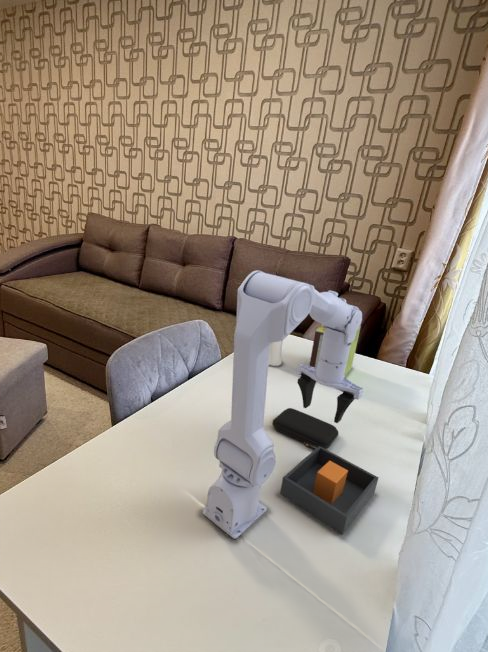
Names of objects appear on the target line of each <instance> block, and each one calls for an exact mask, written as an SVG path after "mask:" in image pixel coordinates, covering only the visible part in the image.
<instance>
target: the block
mask: <svg viewBox="0 0 488 652" xmlns="http://www.w3.org/2000/svg"><path fill="white" fill-rule="evenodd" d="M347 473H348V470H346V469H344V468H342V467H341V466H339V465H337V464H335V463H333V462H332V461H329V462H328V463H326V464H325V465H324V466H323V467H322V468H321V469H320V470H319V471H318V472H317V477H316V481H315V486H314V490H313V494H314V495H316V496H317V497H319V498H321V499H322V500H324V501H325V502H327V503H329V504H330V505H332V504H333V503H334V501H335V500H336V499H337V498H338V497H339V496H340V495H341V493H342V492H343V489H344V485H345V481H346V477H347Z"/></svg>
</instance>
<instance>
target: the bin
mask: <svg viewBox="0 0 488 652" xmlns="http://www.w3.org/2000/svg"><path fill="white" fill-rule="evenodd" d="M329 461H332V462H333V463H335V464H337V465H339V466H341V467H342V468H344V469H346V470H348V473H347V477H346V481H345V485H344V489H343V492H342V493H341V495H340V496H339V497H338V498H337V499H336V500H335V501H334V503H333V504H332V505H330V504H329V503H327V502H325V501H324V500H322V499H321V498H319V497H317V496H316V495H314V494H313V490H314V486H315V481H316V477H317V472H318V471H319V470H320V469H321V468H322V467H323V466H324V465H325V464H326V463H328V462H329ZM378 481H379V476H377V475H375V474H373V473H371V472H370V471H367V470H365V469H364V468H362V467H361V466H358V465H356V464H355V463H353V462H351V461H349V460H347V459H345V458H344V457H341V456H339V455H337V454H336V453H334V452H332V451H330V450H328V449H324V448H322V447H321V446H318V447H317V448H316V449H315V448H314V450H313V451H311V453H309V454H308V455H307V456H306V457H304V458H303V459H302V460H301V461H300V462H298V463H297V465H295V466H294V467H293V468H291V470H290V471H289V472H287V473H286V474H285V475H284V476H283V477H282V480H281V486H280V493H279V494H280V495H281V496H283V497H284V498H286V499H287V500H289V501H291V502H292V503H294V504H295V505H297V506H298V507H300V508H301V509H303V510H304V511H306V512H307V513H309V514H310V515H312V516H313V517H315V518H316V519H318V520H319V521H321V522H322V523H324V524H325V525H327V526H328V527H330V528H331V529H333V530H334V531H336V532H337V533H339V534H340V535H344V533H345V532H346V531H347V529H348V528H349V527H350V526H351V525H352V523H353V522H354V520H356V518H357V516H358V515H359V514H360V513H361V511H363V509H364V508H365V506H366V505H367V504H368V502H369V501H370V500H371V498H372V497H373V495H374V494H375V491H376V488H377V485H378Z"/></svg>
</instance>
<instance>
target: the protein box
mask: <svg viewBox="0 0 488 652" xmlns="http://www.w3.org/2000/svg"><path fill="white" fill-rule="evenodd" d="M361 327H362V326H361V324H360V327H359V329H358V330H357V333H356V337H355V339H354V341H353V342H351V347H350V351H349V356H348V360H347V365H346V369H345V374H344V378H346V376H347V374H348V373H349V372H350V371H351V370H352V367H353V362H354V360H355V359H354V358H355V355H356V350H357V345H358V342H359V341H358V340H359V335H360V331H361ZM324 329H325V326H323V327H322V326H321V325H320V326H319V327H318V328H316V330H315V332H314V337H313V342H312V347H311V348H312V349H311V355H310V360H309V364H308V366H311V367H315V368H317V365H318V360H319V355H320V350H321V344H322V339H323V334H324Z"/></svg>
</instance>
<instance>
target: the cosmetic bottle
mask: <svg viewBox="0 0 488 652" xmlns="http://www.w3.org/2000/svg"><path fill="white" fill-rule="evenodd" d="M282 356H283V341H279V342H273V343H271V345H270V352H269V364H268V366H273V367H278V366H280V365H282V363H283V360H282V359H283V357H282Z"/></svg>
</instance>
